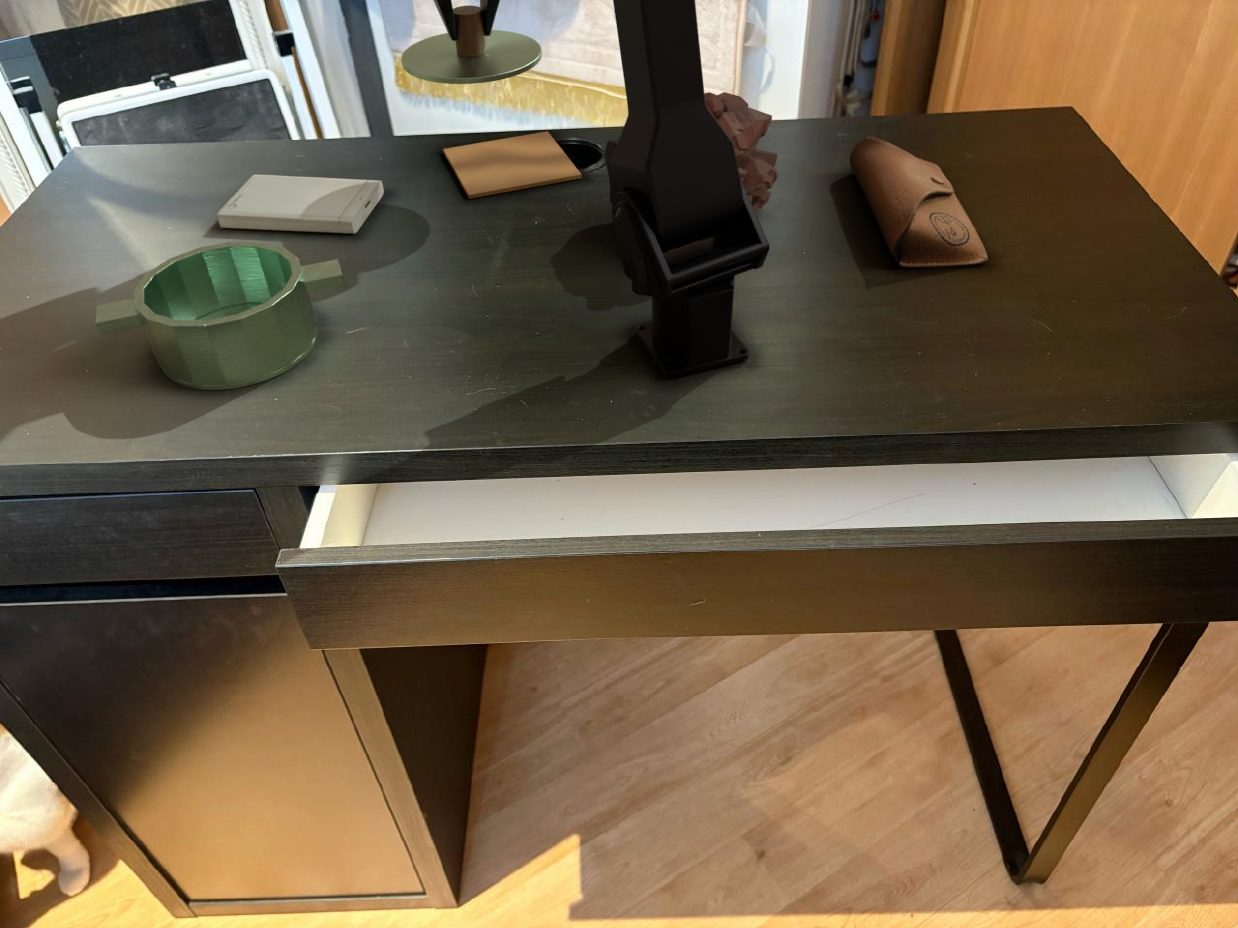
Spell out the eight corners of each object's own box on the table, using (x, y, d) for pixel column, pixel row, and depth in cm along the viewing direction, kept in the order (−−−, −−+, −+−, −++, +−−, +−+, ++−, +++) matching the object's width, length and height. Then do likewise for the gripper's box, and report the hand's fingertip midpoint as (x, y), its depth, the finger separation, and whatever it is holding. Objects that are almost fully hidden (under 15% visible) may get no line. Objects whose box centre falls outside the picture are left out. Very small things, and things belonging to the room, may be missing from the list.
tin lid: (560, 78, 82) (557, 21, 79) (419, 100, 79) (409, 42, 75) (520, 34, 90) (515, -18, 87) (391, 53, 87) (382, -1, 84)
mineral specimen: (626, 271, 87) (758, 184, 89) (682, 293, 76) (832, 194, 78) (564, 155, 82) (706, 65, 84) (614, 160, 71) (778, 57, 72)
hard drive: (215, 213, 84) (350, 218, 82) (254, 172, 90) (381, 176, 89) (221, 230, 85) (354, 236, 84) (259, 189, 91) (384, 193, 90)
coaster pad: (581, 178, 91) (581, 174, 91) (469, 199, 88) (468, 195, 88) (547, 135, 99) (547, 131, 99) (443, 152, 96) (442, 149, 96)
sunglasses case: (997, 260, 77) (970, 194, 73) (914, 301, 79) (884, 240, 75) (936, 164, 90) (910, 104, 87) (866, 201, 93) (839, 145, 89)
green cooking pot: (365, 360, 70) (349, 296, 66) (118, 414, 65) (88, 349, 62) (342, 284, 78) (327, 223, 74) (122, 328, 74) (95, 266, 70)
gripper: (532, -202, 80) (545, -3, 91) (305, -184, 76) (347, 24, 86) (574, -183, 72) (583, 33, 83) (325, -161, 68) (368, 64, 78)
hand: (470, 37), depth 83 cm, fingers closed on tin lid, 3 cm apart
